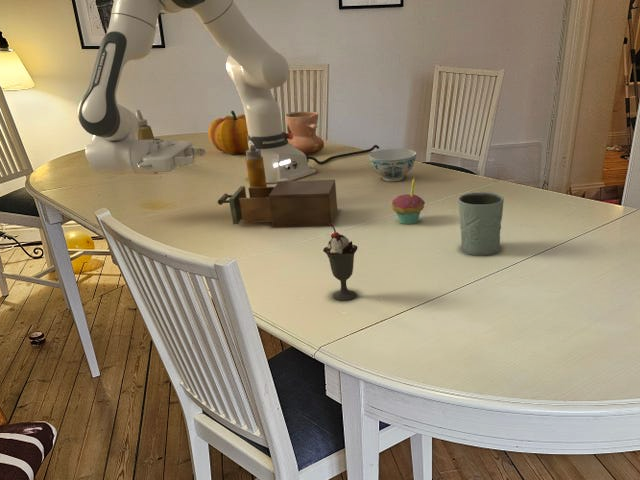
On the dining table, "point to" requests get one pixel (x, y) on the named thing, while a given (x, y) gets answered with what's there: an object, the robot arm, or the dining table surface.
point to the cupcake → (408, 206)
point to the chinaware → (392, 163)
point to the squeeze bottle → (143, 128)
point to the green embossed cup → (480, 222)
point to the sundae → (341, 263)
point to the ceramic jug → (304, 132)
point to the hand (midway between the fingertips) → (199, 155)
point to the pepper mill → (255, 167)
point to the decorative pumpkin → (229, 134)
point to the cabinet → (303, 203)
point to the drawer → (249, 204)
